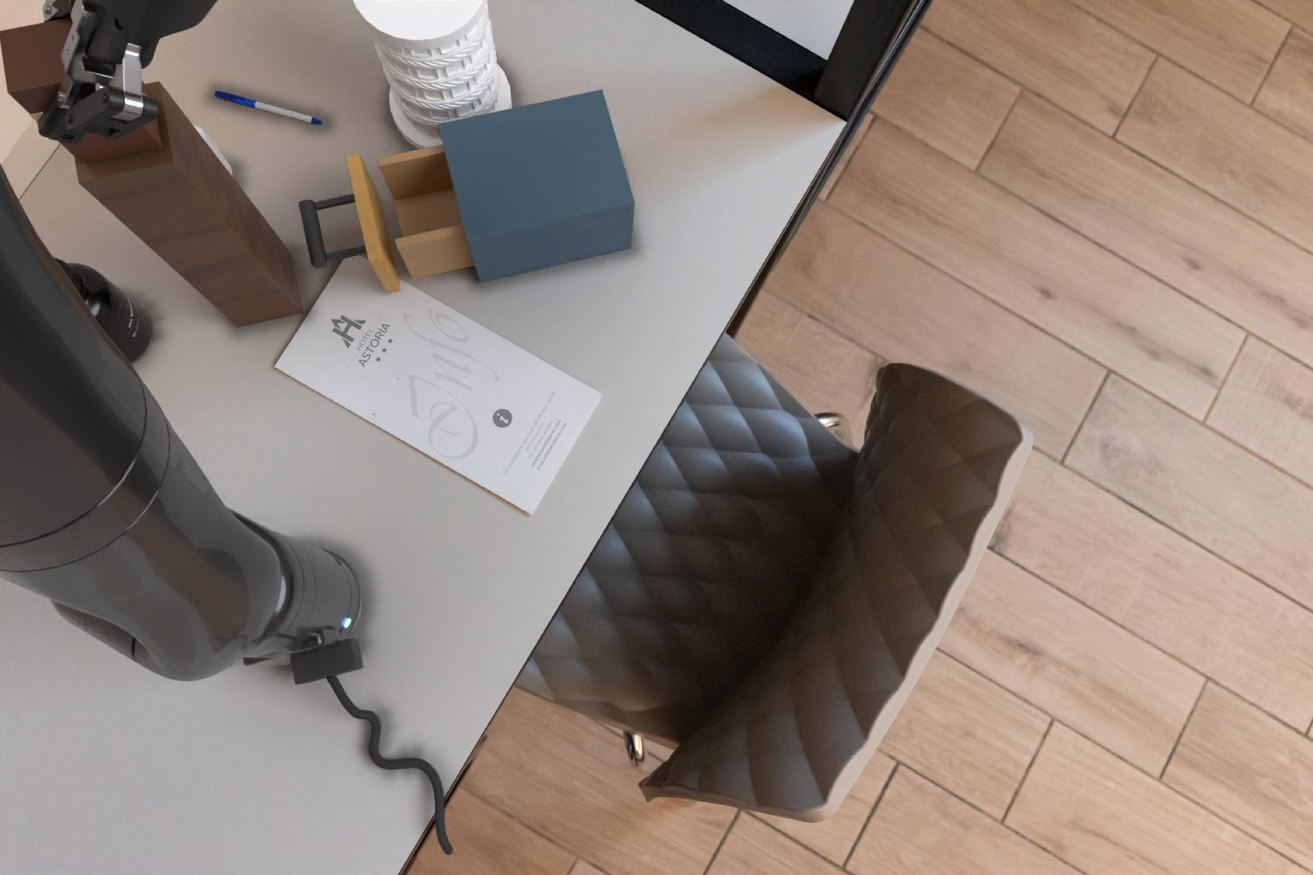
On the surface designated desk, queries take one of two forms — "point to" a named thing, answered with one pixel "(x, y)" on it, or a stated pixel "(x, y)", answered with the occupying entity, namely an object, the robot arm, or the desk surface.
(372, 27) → the decorative container
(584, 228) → the cabinet
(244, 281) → the riser
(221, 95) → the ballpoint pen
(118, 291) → the supplement bottle
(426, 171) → the drawer
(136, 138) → the chocolate carton
